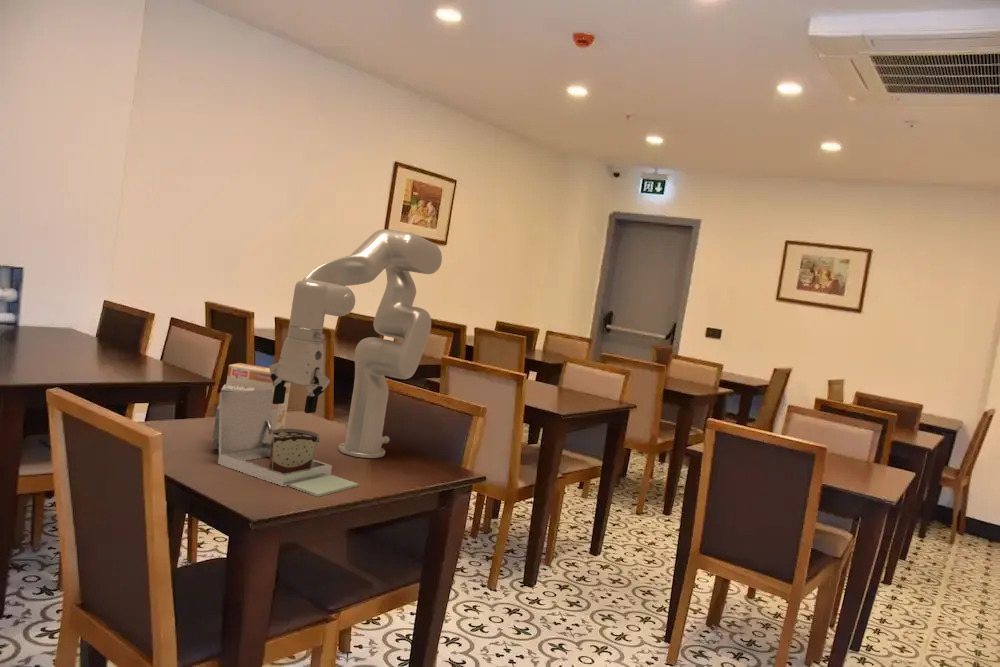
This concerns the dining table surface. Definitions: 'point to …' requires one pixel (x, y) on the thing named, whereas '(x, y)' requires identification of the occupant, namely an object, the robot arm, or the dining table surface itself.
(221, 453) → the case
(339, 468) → the dining table surface
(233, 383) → the coffeecake box
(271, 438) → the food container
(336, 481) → the mat
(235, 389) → the circuit breaker
